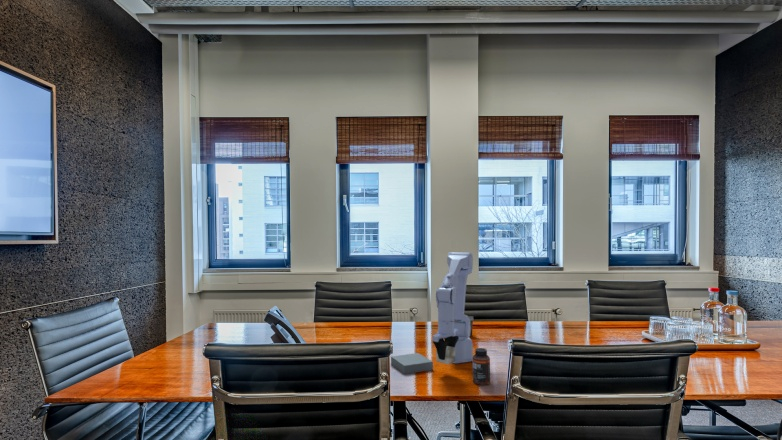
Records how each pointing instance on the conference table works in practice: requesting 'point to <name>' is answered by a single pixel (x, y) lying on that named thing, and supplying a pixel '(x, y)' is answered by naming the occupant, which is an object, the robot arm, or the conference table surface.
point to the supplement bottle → (481, 367)
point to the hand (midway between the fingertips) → (445, 357)
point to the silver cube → (447, 356)
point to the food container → (470, 323)
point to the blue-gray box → (411, 363)
